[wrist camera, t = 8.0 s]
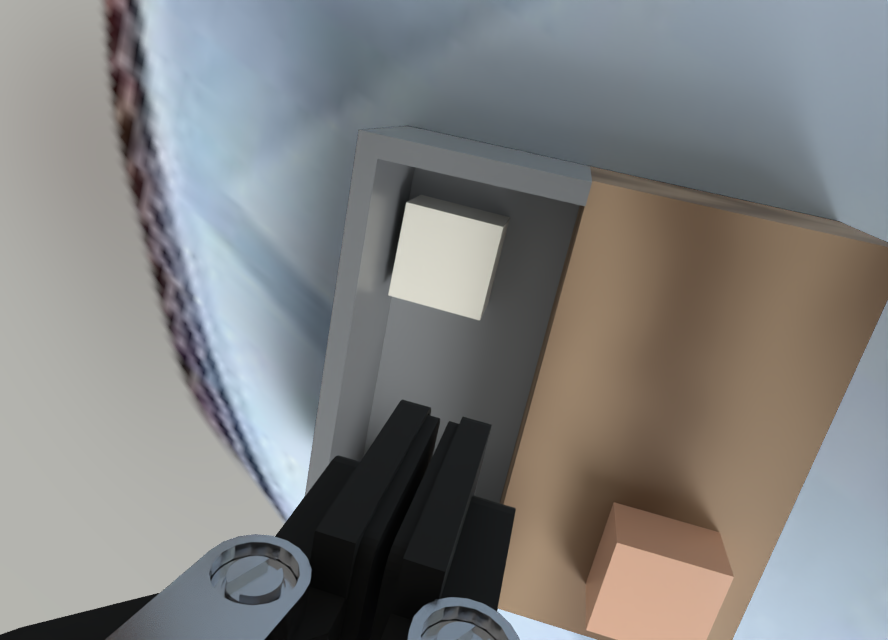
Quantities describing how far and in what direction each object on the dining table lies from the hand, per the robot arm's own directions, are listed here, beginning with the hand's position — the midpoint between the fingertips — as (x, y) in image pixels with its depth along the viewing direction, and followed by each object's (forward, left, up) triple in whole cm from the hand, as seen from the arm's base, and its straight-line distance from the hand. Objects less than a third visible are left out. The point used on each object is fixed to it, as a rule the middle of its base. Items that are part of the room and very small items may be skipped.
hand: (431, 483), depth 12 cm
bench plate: (-7, +4, -19) cm, 20 cm away
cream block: (+3, 0, -15) cm, 16 cm away
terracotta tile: (-8, +9, -13) cm, 17 cm away
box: (+2, +4, -19) cm, 19 cm away
